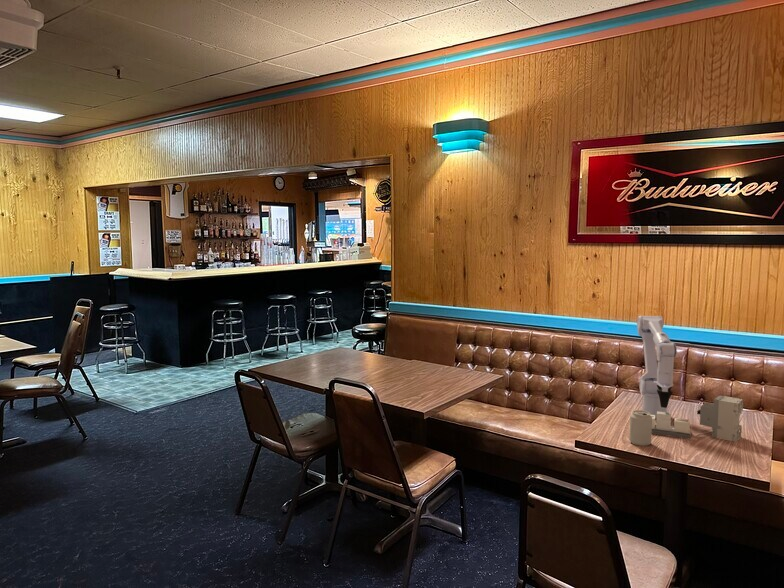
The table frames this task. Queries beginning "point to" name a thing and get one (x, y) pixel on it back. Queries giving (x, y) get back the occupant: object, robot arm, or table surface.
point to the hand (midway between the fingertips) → (663, 404)
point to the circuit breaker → (723, 417)
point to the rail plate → (674, 428)
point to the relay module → (663, 420)
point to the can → (640, 428)
